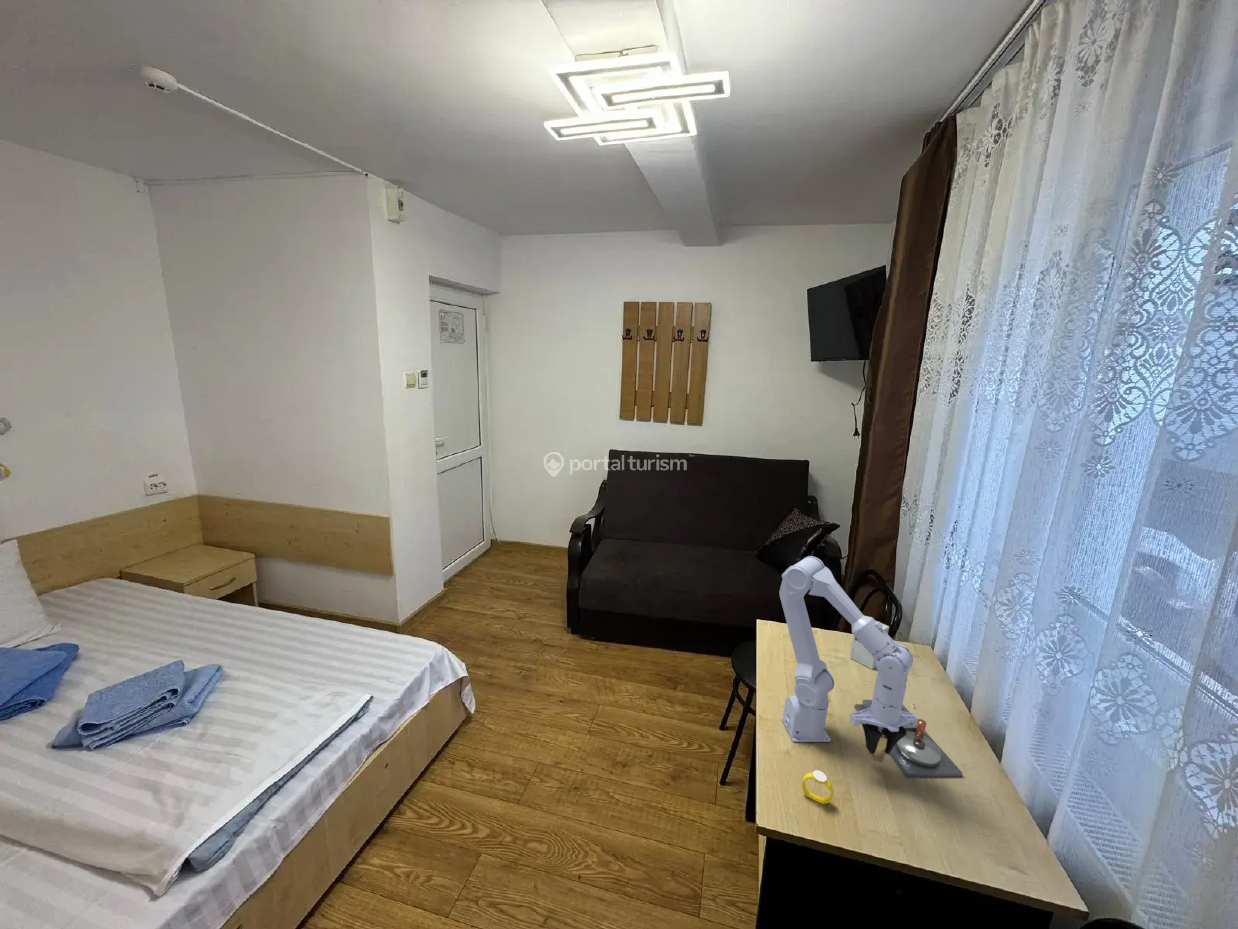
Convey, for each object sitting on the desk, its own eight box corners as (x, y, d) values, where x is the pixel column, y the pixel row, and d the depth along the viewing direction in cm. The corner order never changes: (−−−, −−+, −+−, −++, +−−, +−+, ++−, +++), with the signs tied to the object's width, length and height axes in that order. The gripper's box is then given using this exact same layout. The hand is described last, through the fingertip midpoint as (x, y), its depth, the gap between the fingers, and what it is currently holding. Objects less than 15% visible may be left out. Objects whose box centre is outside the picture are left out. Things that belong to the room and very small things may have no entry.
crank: (940, 773, 107) (945, 752, 106) (894, 754, 112) (898, 734, 110) (939, 747, 114) (944, 727, 113) (897, 730, 119) (900, 711, 118)
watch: (830, 801, 100) (836, 778, 99) (828, 811, 98) (835, 788, 97) (801, 786, 103) (806, 764, 102) (798, 796, 101) (804, 773, 99)
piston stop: (873, 762, 107) (878, 737, 105) (866, 751, 110) (871, 726, 108) (886, 761, 107) (891, 737, 106) (878, 751, 110) (883, 726, 108)
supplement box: (848, 658, 150) (854, 622, 148) (859, 650, 155) (865, 615, 152) (872, 670, 145) (878, 633, 142) (883, 662, 149) (890, 625, 147)
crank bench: (906, 777, 107) (909, 762, 106) (854, 707, 128) (856, 694, 127) (961, 776, 108) (965, 761, 107) (900, 707, 129) (902, 694, 128)
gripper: (866, 711, 101) (856, 765, 104) (931, 711, 102) (919, 765, 105) (848, 689, 108) (839, 740, 111) (910, 689, 109) (899, 739, 111)
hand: (877, 750), depth 108 cm, fingers closed on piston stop, 3 cm apart
